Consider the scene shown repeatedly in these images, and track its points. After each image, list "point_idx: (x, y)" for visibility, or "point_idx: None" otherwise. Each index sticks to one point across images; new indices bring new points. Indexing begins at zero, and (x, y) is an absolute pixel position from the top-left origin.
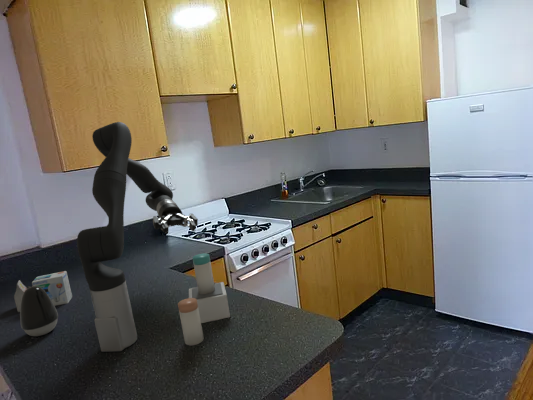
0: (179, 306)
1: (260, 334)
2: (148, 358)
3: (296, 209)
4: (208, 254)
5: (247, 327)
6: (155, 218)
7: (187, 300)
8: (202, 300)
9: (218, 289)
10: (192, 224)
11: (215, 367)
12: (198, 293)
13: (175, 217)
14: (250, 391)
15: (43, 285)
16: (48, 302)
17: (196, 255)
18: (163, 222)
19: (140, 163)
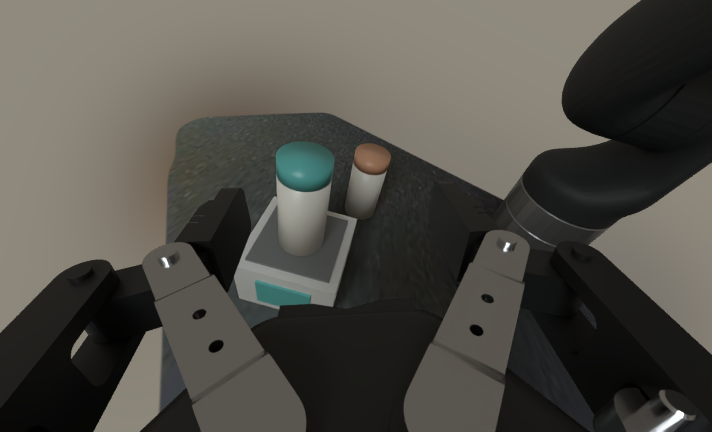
0: (388, 153)
1: (271, 165)
2: (428, 211)
3: None
4: (278, 153)
5: (273, 187)
6: (694, 368)
7: (371, 157)
8: (327, 211)
9: (274, 224)
10: (231, 193)
11: (351, 153)
12: (324, 239)
13: (337, 383)
14: (335, 118)
15: None
16: None
17: (314, 172)
18: (499, 237)
19: None
